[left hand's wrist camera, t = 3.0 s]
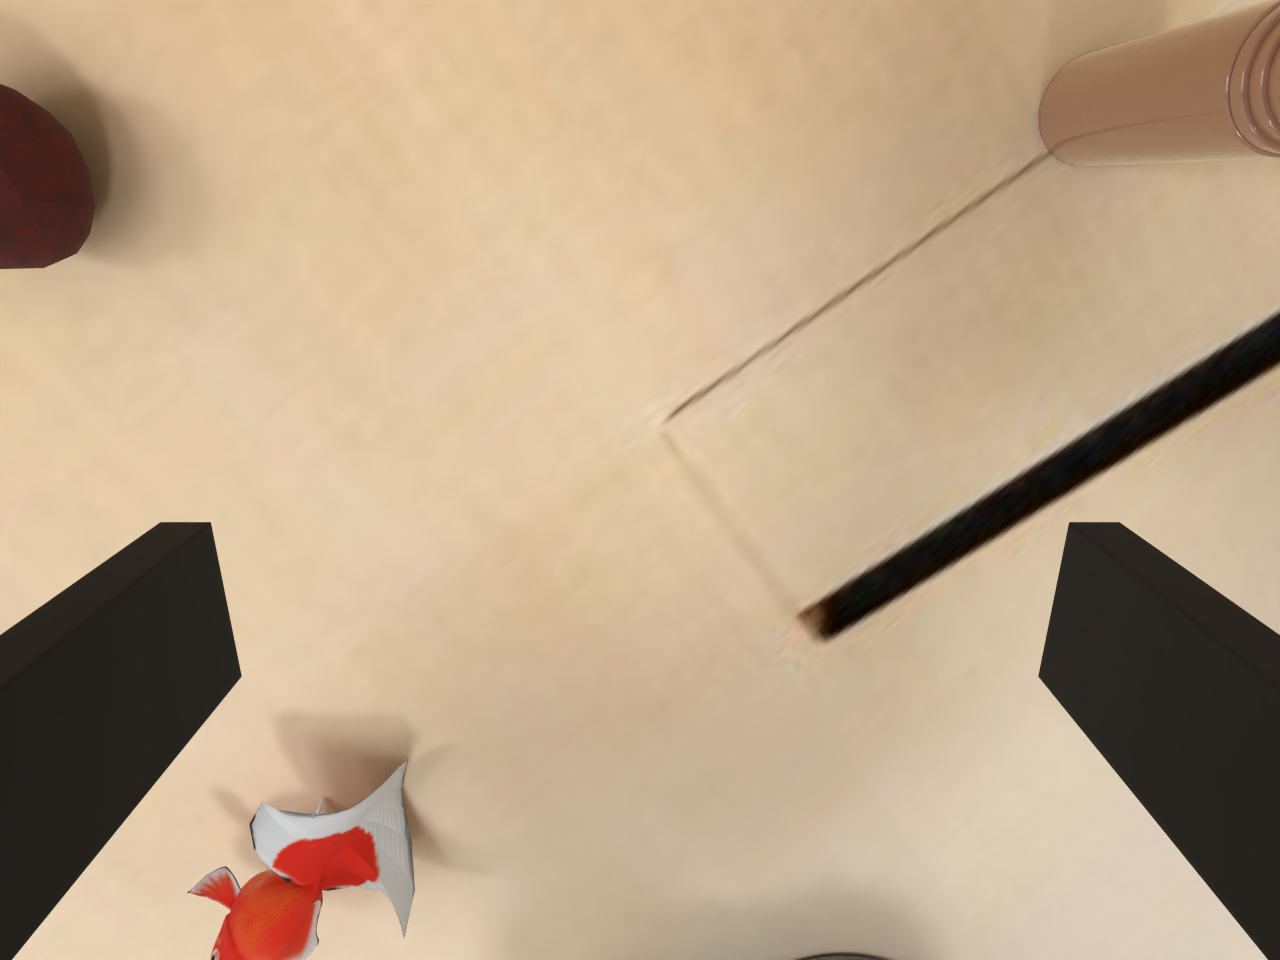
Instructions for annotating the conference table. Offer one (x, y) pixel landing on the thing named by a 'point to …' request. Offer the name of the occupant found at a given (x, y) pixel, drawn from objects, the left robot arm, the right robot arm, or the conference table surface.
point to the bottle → (1172, 95)
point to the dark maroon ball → (39, 187)
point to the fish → (312, 873)
